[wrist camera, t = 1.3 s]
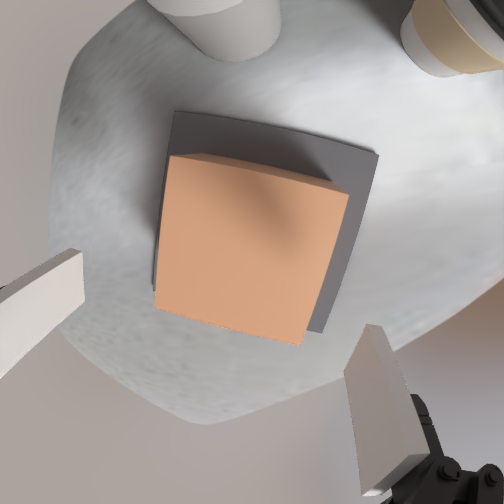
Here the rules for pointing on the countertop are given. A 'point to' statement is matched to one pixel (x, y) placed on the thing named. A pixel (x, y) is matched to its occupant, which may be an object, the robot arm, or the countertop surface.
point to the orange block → (245, 244)
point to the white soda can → (225, 25)
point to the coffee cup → (455, 36)
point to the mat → (288, 158)
